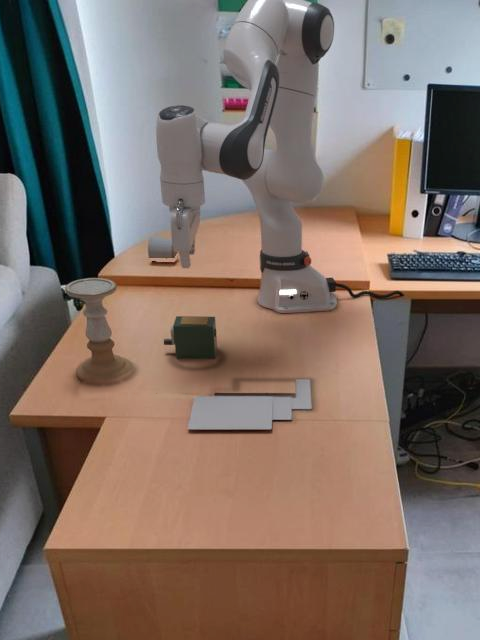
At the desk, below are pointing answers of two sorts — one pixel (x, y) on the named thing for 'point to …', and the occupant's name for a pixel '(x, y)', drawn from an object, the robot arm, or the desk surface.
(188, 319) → the sharpener
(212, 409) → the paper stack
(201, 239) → the desk surface
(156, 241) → the grey cylinder
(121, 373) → the candle holder
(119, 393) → the desk surface
